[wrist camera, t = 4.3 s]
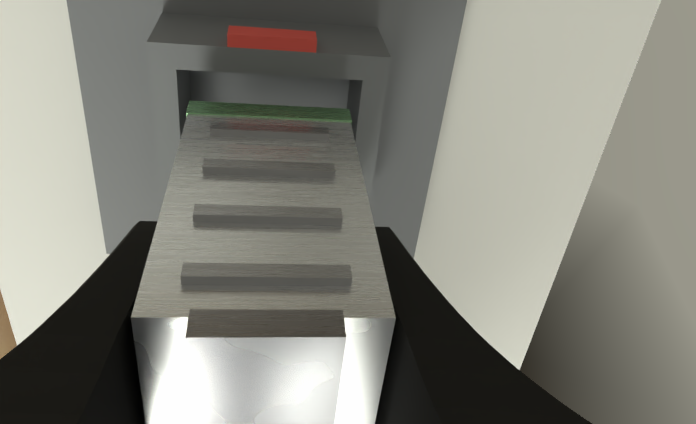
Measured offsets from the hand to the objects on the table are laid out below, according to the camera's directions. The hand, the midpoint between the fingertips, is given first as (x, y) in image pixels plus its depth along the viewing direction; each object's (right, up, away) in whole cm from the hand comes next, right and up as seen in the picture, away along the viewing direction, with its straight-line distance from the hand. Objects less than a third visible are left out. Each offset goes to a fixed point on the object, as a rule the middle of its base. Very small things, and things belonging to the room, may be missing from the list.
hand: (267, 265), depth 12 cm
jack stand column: (0, +2, +3) cm, 3 cm away
